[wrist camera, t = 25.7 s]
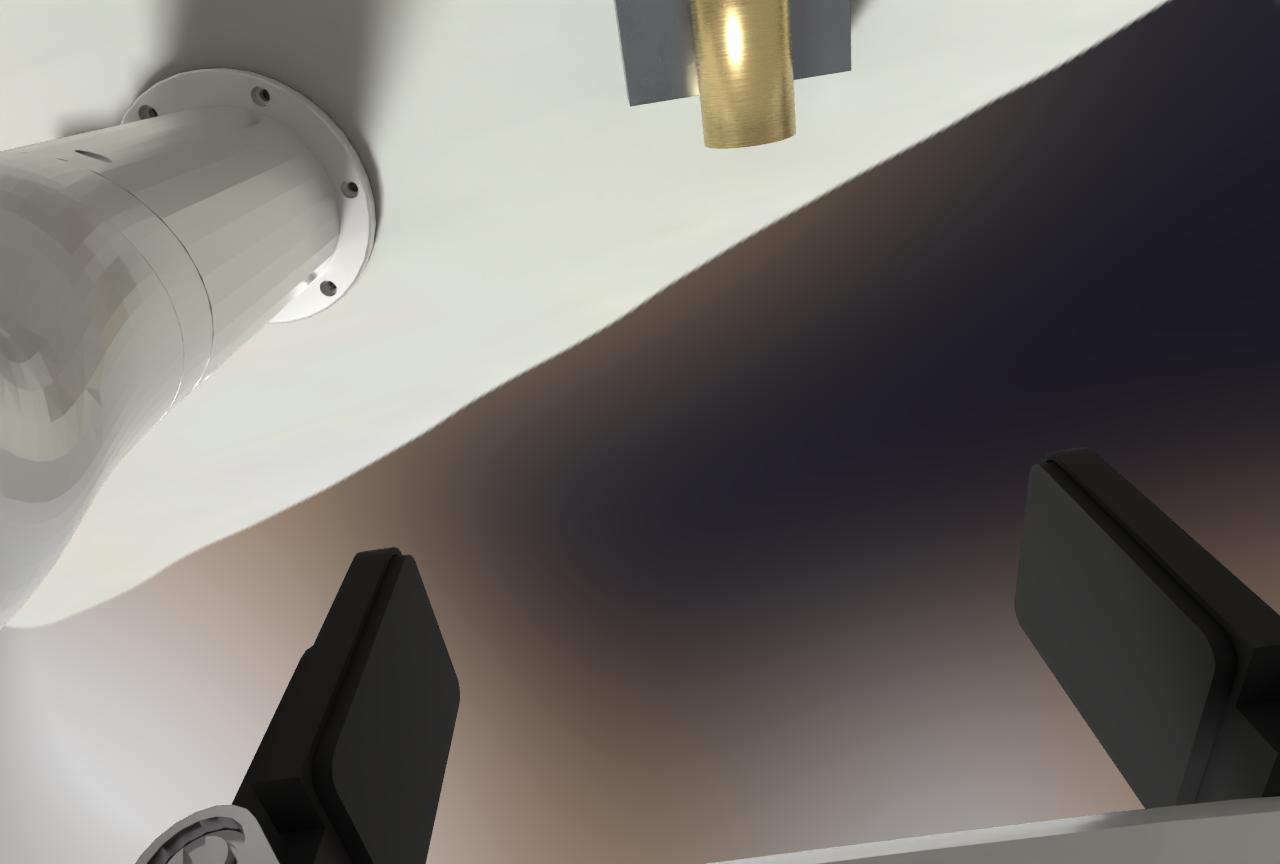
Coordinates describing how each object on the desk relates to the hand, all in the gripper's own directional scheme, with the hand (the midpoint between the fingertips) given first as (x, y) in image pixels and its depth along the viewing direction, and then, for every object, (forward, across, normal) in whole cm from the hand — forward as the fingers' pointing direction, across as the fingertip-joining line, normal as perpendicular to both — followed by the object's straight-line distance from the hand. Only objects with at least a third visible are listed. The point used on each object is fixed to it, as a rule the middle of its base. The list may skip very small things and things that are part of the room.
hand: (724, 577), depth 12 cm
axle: (+27, -5, -8) cm, 28 cm away
